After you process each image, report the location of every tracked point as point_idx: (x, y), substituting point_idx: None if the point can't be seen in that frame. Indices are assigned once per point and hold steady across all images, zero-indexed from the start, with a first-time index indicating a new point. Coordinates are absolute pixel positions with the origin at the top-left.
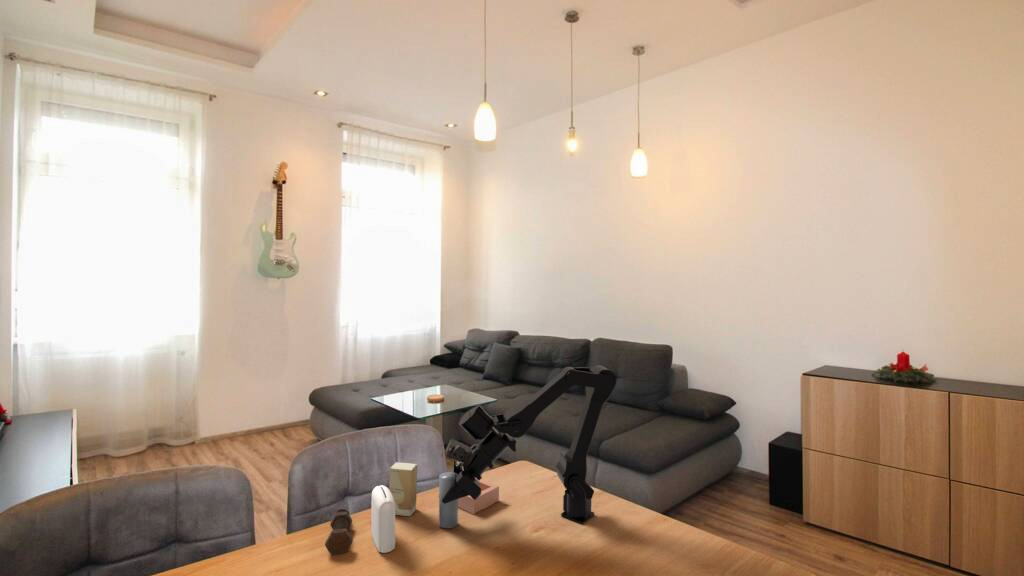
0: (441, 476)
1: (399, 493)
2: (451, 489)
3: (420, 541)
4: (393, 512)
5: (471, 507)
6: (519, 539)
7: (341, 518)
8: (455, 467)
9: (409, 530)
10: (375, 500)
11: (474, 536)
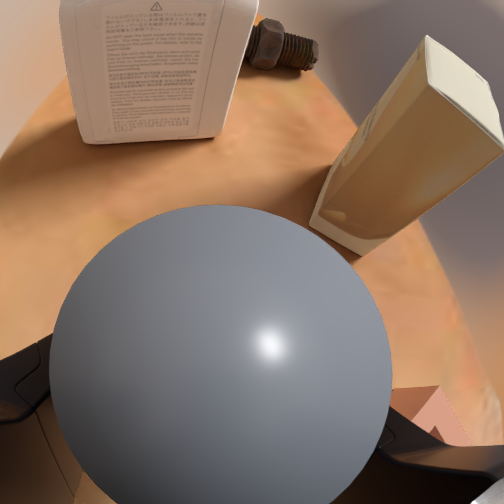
0: (234, 240)
1: (361, 136)
2: (9, 358)
3: (96, 231)
4: (63, 34)
5: None
6: None
7: (254, 27)
8: (446, 498)
9: (196, 205)
10: None
11: None
